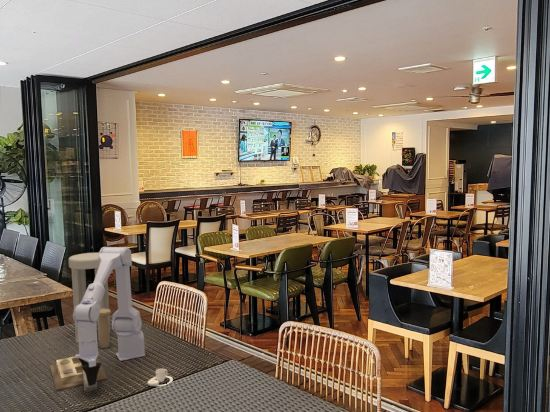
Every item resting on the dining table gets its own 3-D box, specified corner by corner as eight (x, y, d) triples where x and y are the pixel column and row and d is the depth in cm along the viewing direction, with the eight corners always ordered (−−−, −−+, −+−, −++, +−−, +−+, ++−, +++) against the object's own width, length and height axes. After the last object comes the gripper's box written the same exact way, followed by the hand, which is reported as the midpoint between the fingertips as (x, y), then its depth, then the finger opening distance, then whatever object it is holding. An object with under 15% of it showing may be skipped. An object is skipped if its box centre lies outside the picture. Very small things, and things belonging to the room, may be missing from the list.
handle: (104, 350, 191) (102, 313, 190) (95, 347, 195) (93, 310, 194) (115, 346, 195) (113, 310, 194) (105, 343, 199) (103, 307, 197)
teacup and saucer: (149, 390, 158) (148, 378, 158) (144, 380, 165) (143, 369, 165) (175, 384, 162) (175, 372, 162) (169, 375, 169) (168, 363, 169)
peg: (96, 384, 162) (94, 364, 161) (98, 389, 159) (97, 368, 158) (83, 387, 160) (82, 367, 159) (85, 392, 157) (83, 371, 156)
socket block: (96, 357, 185) (95, 349, 184) (107, 379, 166) (106, 370, 165) (49, 366, 177) (49, 358, 177) (56, 391, 158) (55, 381, 158)
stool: (80, 331, 214) (75, 253, 211) (116, 329, 216) (112, 251, 212) (69, 344, 199) (63, 260, 195) (108, 342, 200) (103, 258, 197)
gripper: (71, 335, 162) (74, 374, 163) (77, 349, 150) (80, 392, 151) (94, 331, 166) (96, 370, 167) (101, 345, 153) (104, 386, 154)
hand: (90, 380), depth 159 cm, fingers open, 7 cm apart
